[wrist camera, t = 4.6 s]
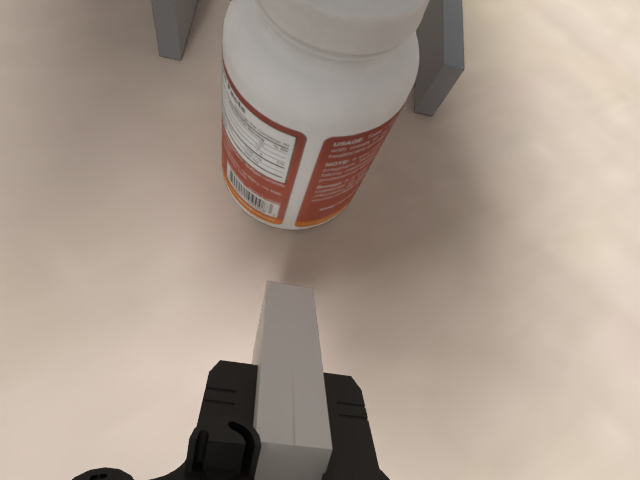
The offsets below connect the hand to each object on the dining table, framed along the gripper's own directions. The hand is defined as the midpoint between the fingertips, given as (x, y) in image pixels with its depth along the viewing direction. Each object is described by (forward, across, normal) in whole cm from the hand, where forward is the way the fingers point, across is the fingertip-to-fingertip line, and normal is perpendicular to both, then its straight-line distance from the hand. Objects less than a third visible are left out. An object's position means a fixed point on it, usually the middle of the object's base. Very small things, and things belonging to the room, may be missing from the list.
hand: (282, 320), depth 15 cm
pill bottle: (+8, 0, +3) cm, 9 cm away
